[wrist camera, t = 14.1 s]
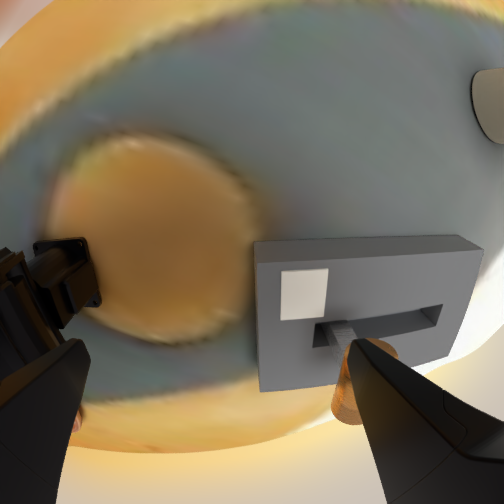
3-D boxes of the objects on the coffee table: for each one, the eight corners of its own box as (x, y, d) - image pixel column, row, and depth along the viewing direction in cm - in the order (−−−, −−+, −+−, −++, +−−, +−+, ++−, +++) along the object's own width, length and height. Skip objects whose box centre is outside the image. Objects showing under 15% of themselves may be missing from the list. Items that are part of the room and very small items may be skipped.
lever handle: (308, 337, 22) (337, 429, 13) (312, 289, 21) (354, 380, 12) (343, 333, 22) (383, 418, 14) (350, 286, 21) (407, 368, 12)
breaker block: (257, 361, 25) (259, 394, 21) (253, 241, 20) (257, 264, 17) (430, 335, 25) (448, 357, 21) (457, 234, 21) (485, 250, 17)
